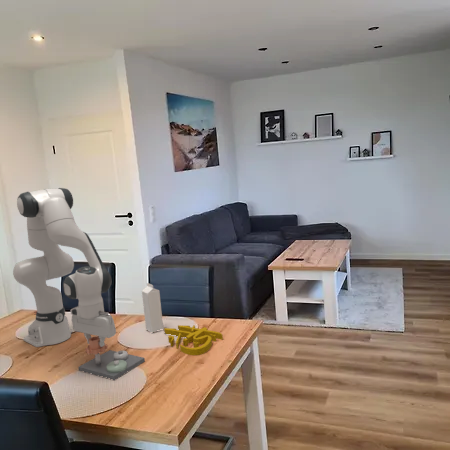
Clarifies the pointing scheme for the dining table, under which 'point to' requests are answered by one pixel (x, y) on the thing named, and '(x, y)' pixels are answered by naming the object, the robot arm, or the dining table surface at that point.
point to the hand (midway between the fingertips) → (96, 344)
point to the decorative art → (193, 338)
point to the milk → (152, 308)
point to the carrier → (111, 364)
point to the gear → (95, 346)
